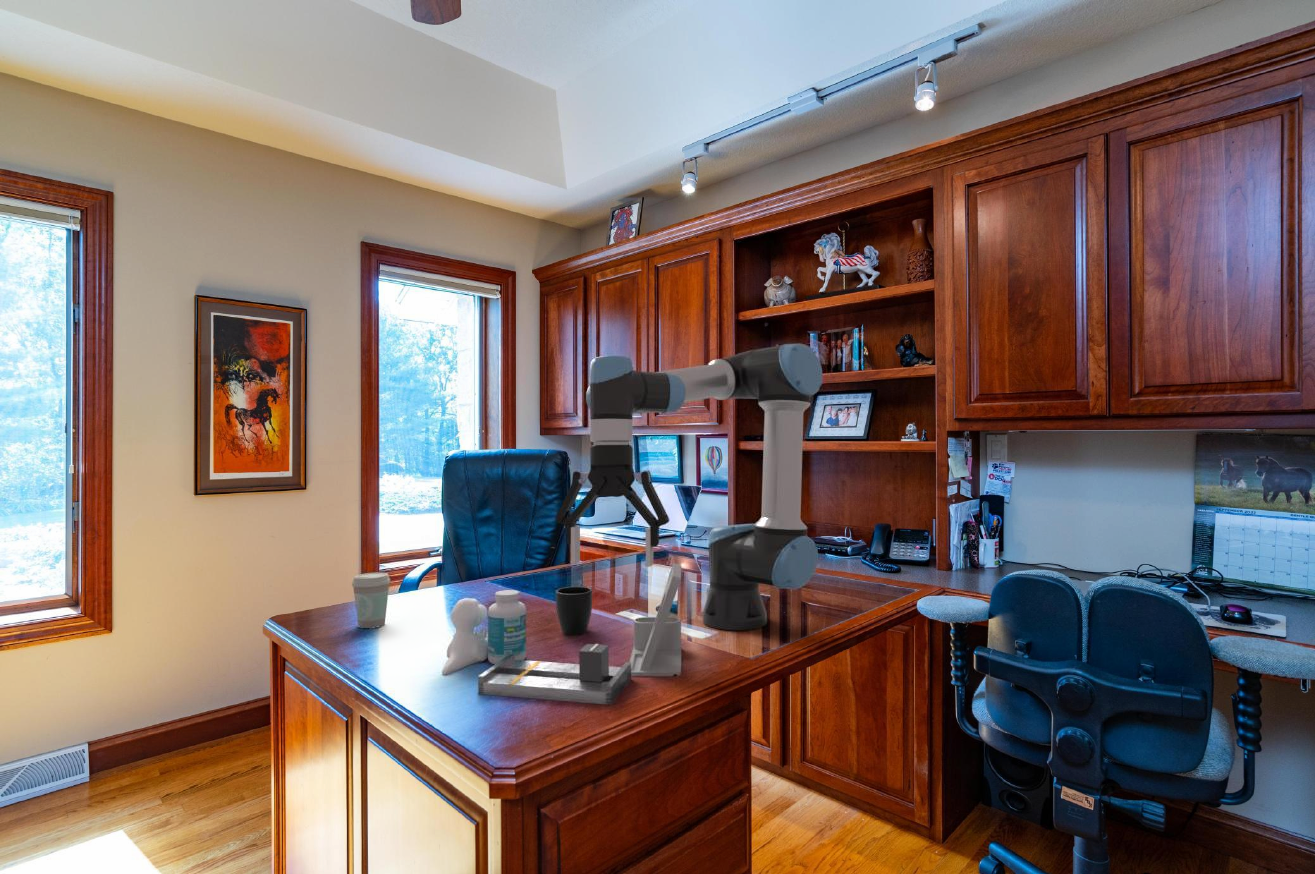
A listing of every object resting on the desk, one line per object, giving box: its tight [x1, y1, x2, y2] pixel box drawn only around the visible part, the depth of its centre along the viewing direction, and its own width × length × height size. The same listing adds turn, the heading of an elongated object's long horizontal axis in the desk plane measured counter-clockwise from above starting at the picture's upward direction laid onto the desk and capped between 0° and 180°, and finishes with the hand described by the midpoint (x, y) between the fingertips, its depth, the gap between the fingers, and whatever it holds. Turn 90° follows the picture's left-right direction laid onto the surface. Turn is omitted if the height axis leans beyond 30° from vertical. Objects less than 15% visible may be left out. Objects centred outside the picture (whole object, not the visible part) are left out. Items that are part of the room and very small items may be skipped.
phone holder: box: [629, 562, 682, 677], centre depth 127 cm, size 17×10×18 cm, turn 178°
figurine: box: [441, 597, 488, 676], centre depth 129 cm, size 8×18×12 cm, turn 166°
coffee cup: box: [351, 571, 391, 629], centre depth 155 cm, size 8×9×12 cm
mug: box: [555, 585, 593, 636], centre depth 149 cm, size 8×12×10 cm
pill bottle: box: [487, 589, 527, 665], centre depth 128 cm, size 8×7×14 cm
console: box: [477, 654, 632, 706], centre depth 114 cm, size 24×12×3 cm, turn 77°
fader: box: [578, 643, 610, 682], centre depth 112 cm, size 4×4×6 cm
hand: (612, 564), depth 114 cm, fingers open, 13 cm apart
